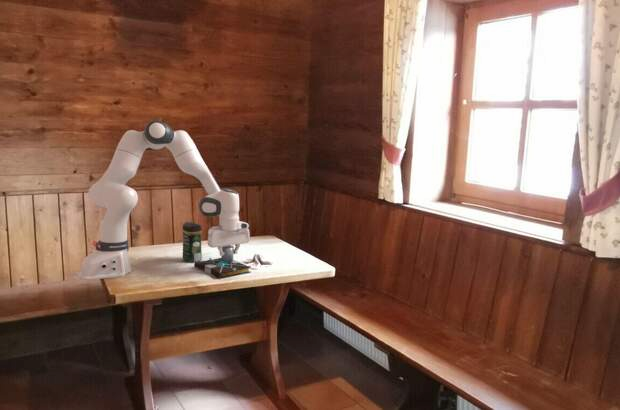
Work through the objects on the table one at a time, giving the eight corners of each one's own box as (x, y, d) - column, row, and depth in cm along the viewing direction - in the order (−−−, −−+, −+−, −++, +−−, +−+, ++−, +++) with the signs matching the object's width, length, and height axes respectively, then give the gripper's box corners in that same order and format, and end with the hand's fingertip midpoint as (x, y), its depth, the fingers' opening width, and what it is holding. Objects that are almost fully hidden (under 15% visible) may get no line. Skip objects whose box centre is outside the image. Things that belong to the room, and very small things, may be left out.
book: (193, 268, 239) (194, 258, 239) (224, 263, 251) (225, 252, 250) (219, 280, 224) (219, 269, 223) (251, 273, 235) (251, 263, 234)
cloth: (248, 272, 237) (248, 259, 236) (231, 262, 252) (231, 250, 251) (290, 267, 249) (290, 254, 248) (271, 257, 264) (272, 246, 263)
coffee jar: (180, 259, 253) (180, 221, 250) (195, 256, 258) (195, 220, 255) (188, 263, 245) (188, 225, 242) (204, 261, 250) (204, 223, 247)
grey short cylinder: (225, 262, 235) (226, 249, 234) (219, 259, 239) (219, 246, 237) (235, 261, 238) (236, 247, 237) (228, 258, 242) (229, 244, 241)
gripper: (211, 228, 226) (211, 259, 228) (251, 224, 239) (251, 253, 241) (205, 225, 231) (204, 255, 233) (244, 221, 244) (243, 250, 246)
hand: (228, 254), depth 237 cm, fingers closed on grey short cylinder, 5 cm apart
